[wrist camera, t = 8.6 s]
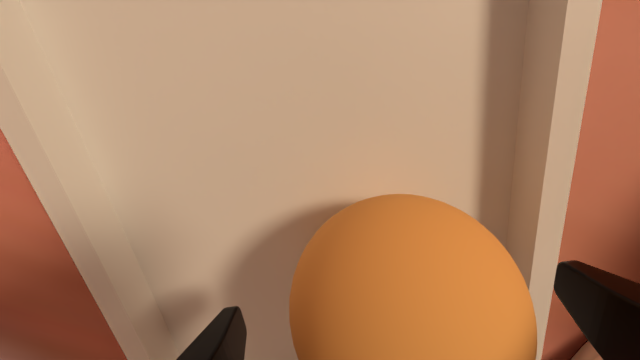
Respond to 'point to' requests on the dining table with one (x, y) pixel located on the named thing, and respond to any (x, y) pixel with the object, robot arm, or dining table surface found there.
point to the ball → (409, 287)
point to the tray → (283, 139)
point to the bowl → (587, 353)
